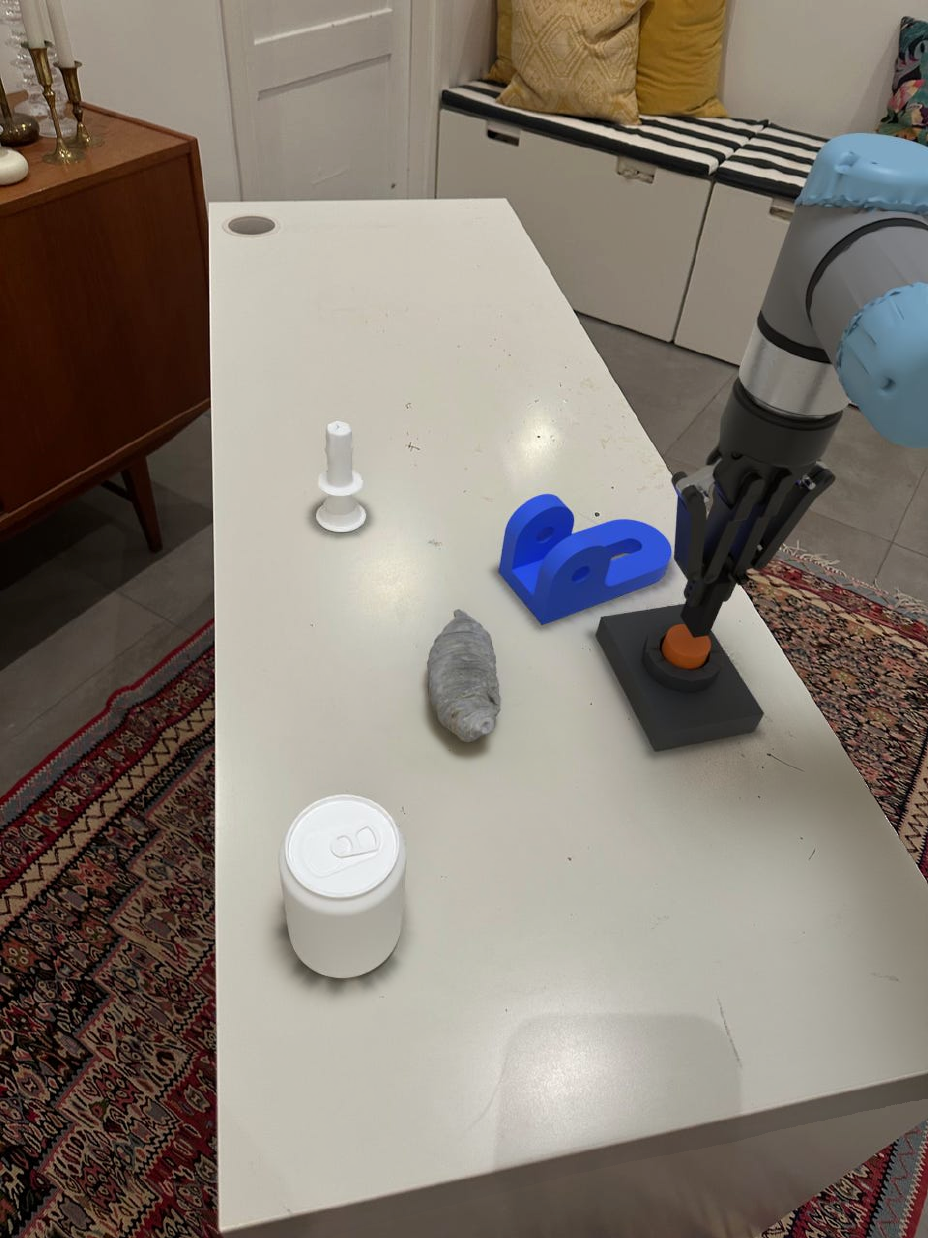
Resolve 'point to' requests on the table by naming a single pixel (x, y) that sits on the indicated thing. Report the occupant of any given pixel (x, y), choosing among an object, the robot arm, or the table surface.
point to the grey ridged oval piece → (464, 678)
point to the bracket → (576, 558)
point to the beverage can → (343, 884)
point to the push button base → (675, 682)
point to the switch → (685, 648)
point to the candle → (340, 482)
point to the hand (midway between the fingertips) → (694, 625)
